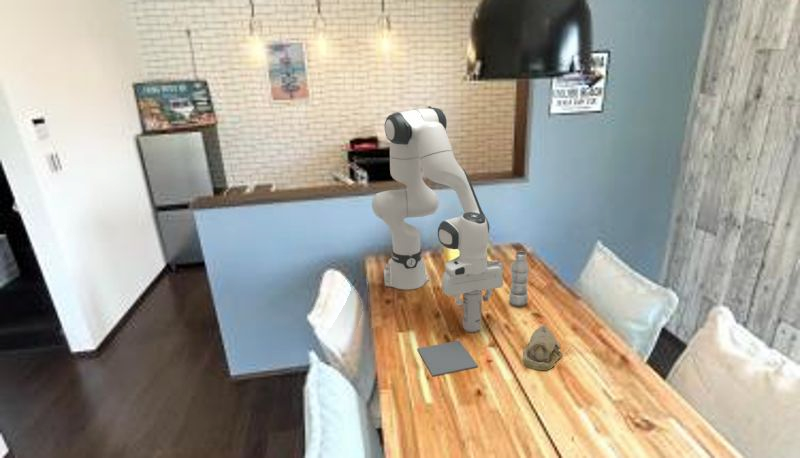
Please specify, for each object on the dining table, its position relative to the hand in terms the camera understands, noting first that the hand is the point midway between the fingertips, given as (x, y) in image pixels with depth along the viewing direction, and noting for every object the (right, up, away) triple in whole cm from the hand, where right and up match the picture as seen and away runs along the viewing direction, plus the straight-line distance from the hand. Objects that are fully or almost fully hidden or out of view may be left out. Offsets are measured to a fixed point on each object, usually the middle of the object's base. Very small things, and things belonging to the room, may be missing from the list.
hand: (472, 302), depth 150 cm
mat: (-10, -15, -12) cm, 21 cm away
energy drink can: (0, -9, +4) cm, 10 cm away
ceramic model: (+19, -14, -12) cm, 27 cm away
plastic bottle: (+20, -4, +18) cm, 27 cm away
